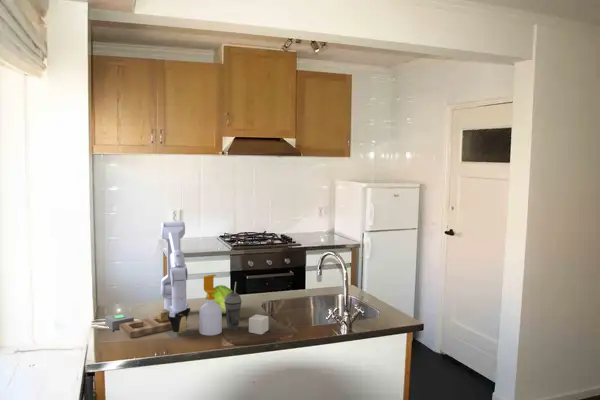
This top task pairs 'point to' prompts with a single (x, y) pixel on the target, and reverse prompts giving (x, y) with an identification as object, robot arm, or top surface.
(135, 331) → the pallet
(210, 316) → the soap bottle
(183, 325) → the block
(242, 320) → the top surface
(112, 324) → the button housing
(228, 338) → the top surface
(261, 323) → the white cube
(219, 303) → the lettuce
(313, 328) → the top surface
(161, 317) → the block
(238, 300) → the beverage cup
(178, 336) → the mat
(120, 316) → the button
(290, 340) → the top surface
